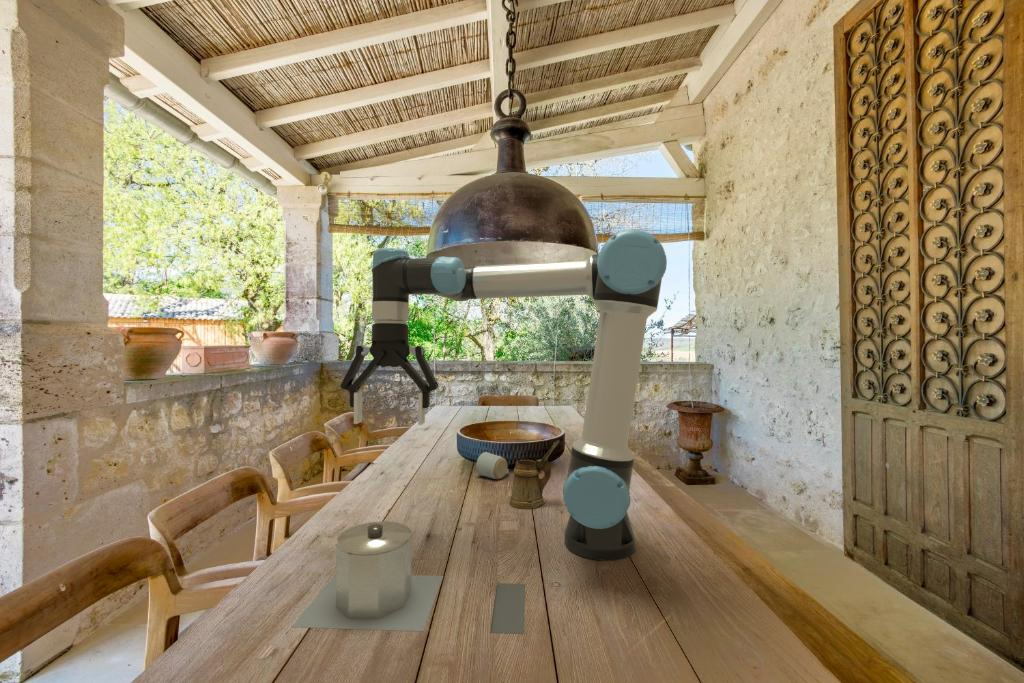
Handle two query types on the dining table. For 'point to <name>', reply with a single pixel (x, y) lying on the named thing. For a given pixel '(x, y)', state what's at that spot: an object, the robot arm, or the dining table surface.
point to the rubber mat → (508, 609)
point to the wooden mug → (530, 482)
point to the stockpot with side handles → (373, 569)
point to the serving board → (405, 619)
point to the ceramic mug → (491, 466)
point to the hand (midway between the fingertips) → (389, 423)
